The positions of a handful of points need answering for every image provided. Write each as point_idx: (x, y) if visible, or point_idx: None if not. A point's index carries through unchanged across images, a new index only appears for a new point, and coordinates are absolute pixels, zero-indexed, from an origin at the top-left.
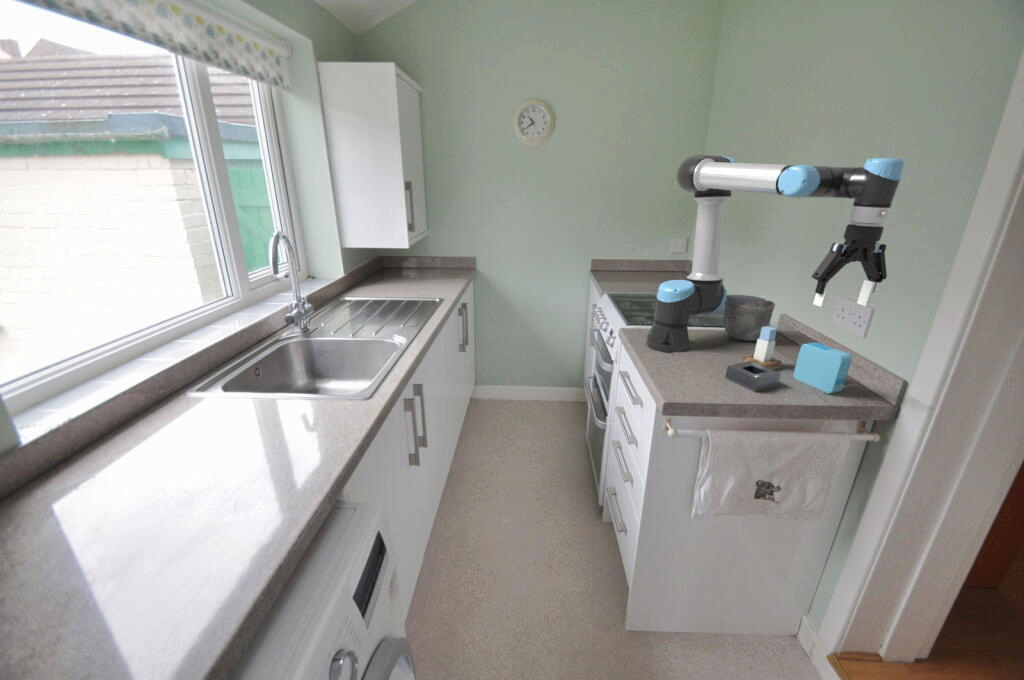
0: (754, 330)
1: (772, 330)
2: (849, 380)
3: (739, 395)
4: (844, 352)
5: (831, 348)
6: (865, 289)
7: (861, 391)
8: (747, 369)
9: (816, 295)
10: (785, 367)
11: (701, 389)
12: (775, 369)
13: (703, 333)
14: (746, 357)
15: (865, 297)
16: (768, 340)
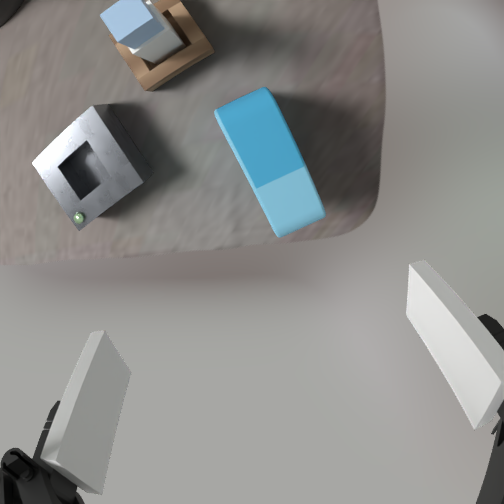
0: None
1: (128, 34)
2: (373, 108)
3: (65, 229)
4: (315, 201)
5: (294, 165)
6: (457, 354)
7: (359, 169)
8: (80, 147)
9: (76, 378)
10: (242, 32)
11: (10, 216)
12: (196, 62)
13: None
14: (114, 42)
15: (428, 334)
16: (133, 47)
